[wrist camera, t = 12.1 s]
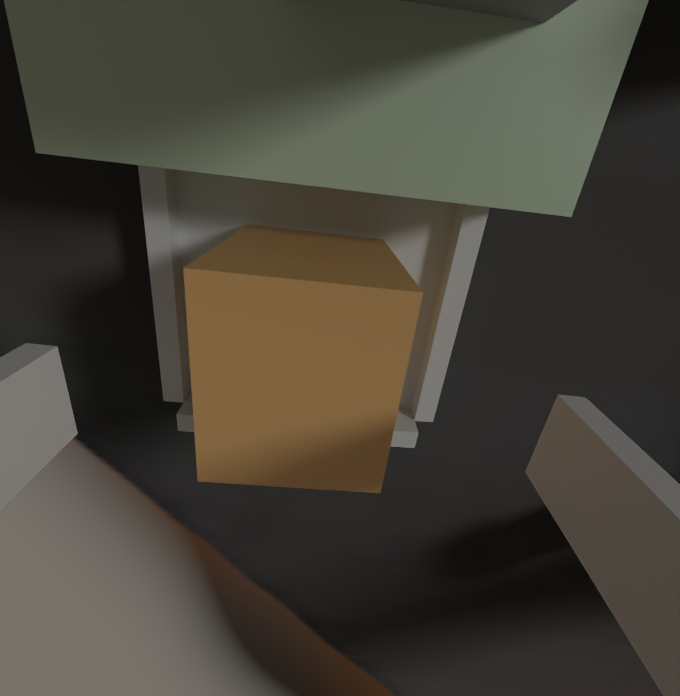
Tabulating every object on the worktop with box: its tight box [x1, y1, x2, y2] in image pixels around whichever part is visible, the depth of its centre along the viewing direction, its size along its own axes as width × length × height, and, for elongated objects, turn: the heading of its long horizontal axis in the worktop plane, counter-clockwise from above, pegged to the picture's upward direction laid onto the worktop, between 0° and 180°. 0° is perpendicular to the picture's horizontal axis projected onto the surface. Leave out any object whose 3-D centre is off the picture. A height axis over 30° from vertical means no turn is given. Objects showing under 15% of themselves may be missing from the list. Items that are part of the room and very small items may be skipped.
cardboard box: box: [183, 224, 423, 493], centre depth 14 cm, size 6×7×8 cm
